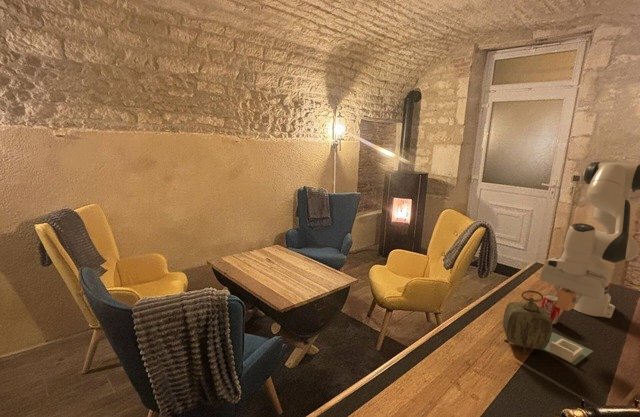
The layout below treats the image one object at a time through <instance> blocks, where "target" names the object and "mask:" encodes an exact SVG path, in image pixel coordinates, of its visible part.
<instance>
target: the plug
mask: <svg viewBox="0 0 640 417" xmlns="http://www.w3.org/2000/svg"><path fill="white" fill-rule="evenodd" d="M574 297H576V298H577V293H576V292H573V291H571V290H568V289H565V288H560V290H559V294H558V299H557V303H556V307H558V308H560V310H564V311H566V312H570V311H571V310H572V309H573V308H575V303H573V302H572V301H573V298H574ZM573 310H574V309H573Z"/></svg>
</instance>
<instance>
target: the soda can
mask: <svg viewBox="0 0 640 417" xmlns="http://www.w3.org/2000/svg"><path fill="white" fill-rule="evenodd" d="M557 299H558V297H557V296H556V295H553V294H544V296H543V299H542V300H541V301H540V302H541V303H540V307H543V308H544V309H545V310H546V311H547V313H548V314H549V316H550V318H551V320H552V325H556V324H557V323H558V320H559V317H560V313H561V312H560V311H561V308H558V307H556V303H557Z"/></svg>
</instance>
